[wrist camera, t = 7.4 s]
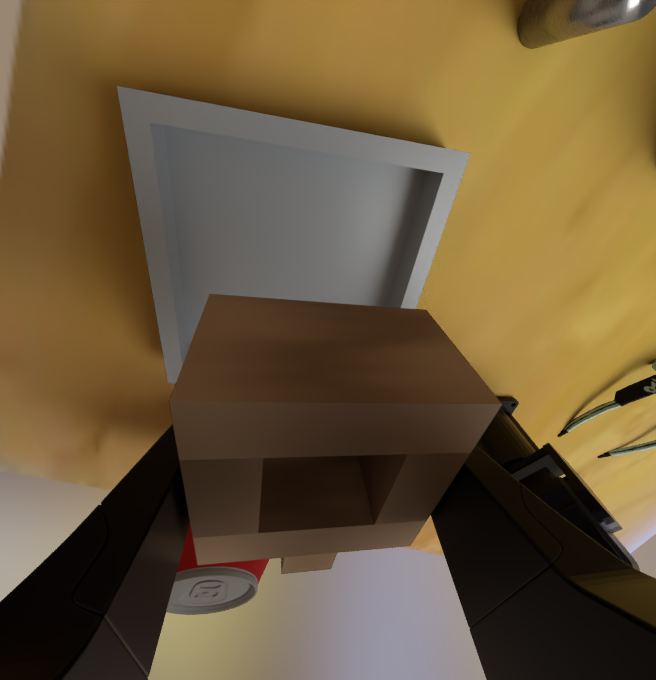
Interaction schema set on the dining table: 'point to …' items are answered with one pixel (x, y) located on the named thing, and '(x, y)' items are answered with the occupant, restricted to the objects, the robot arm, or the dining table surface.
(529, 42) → the metal cylinder
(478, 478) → the robot arm
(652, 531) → the dining table surface
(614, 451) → the sunglasses
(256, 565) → the beverage can
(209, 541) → the wooden frame block
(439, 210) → the tray
